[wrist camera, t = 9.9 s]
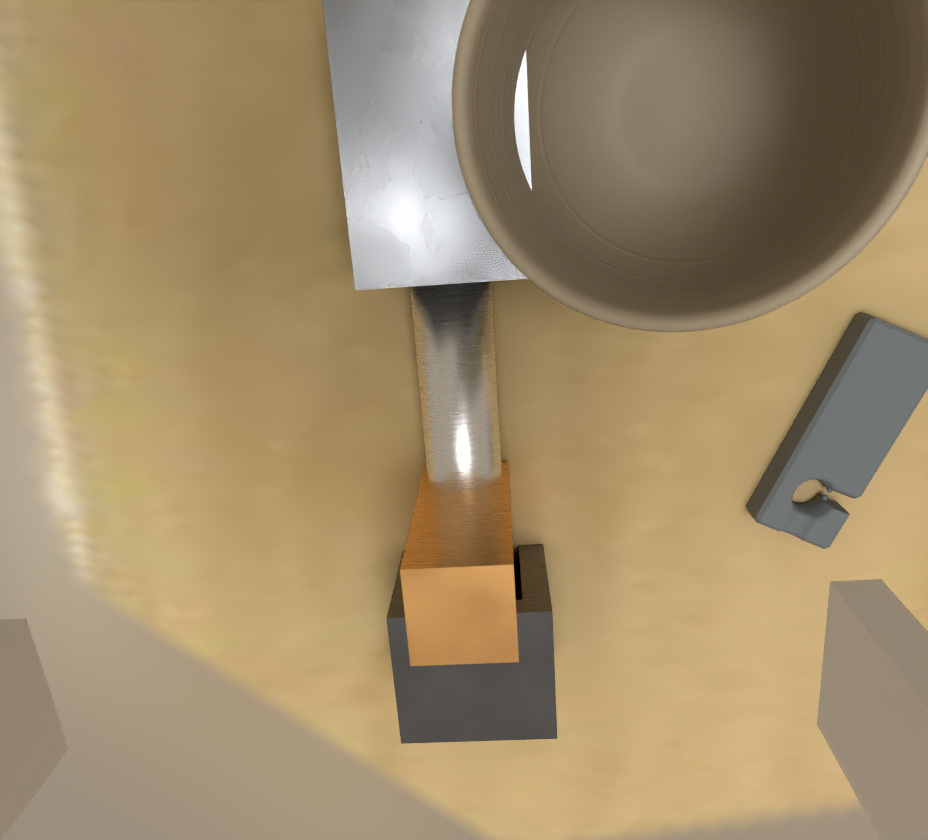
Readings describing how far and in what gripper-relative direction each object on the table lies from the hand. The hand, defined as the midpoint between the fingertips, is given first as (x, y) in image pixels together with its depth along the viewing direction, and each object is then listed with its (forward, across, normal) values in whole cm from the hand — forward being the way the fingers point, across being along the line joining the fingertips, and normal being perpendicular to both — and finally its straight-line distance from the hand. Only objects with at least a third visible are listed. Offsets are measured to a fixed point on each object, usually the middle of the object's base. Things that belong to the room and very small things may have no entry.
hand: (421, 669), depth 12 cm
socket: (+22, -1, -14) cm, 26 cm away
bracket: (+24, +16, -6) cm, 29 cm away
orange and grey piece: (+23, -1, -6) cm, 23 cm away
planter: (+22, +9, +9) cm, 25 cm away
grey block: (+23, -1, +8) cm, 25 cm away
